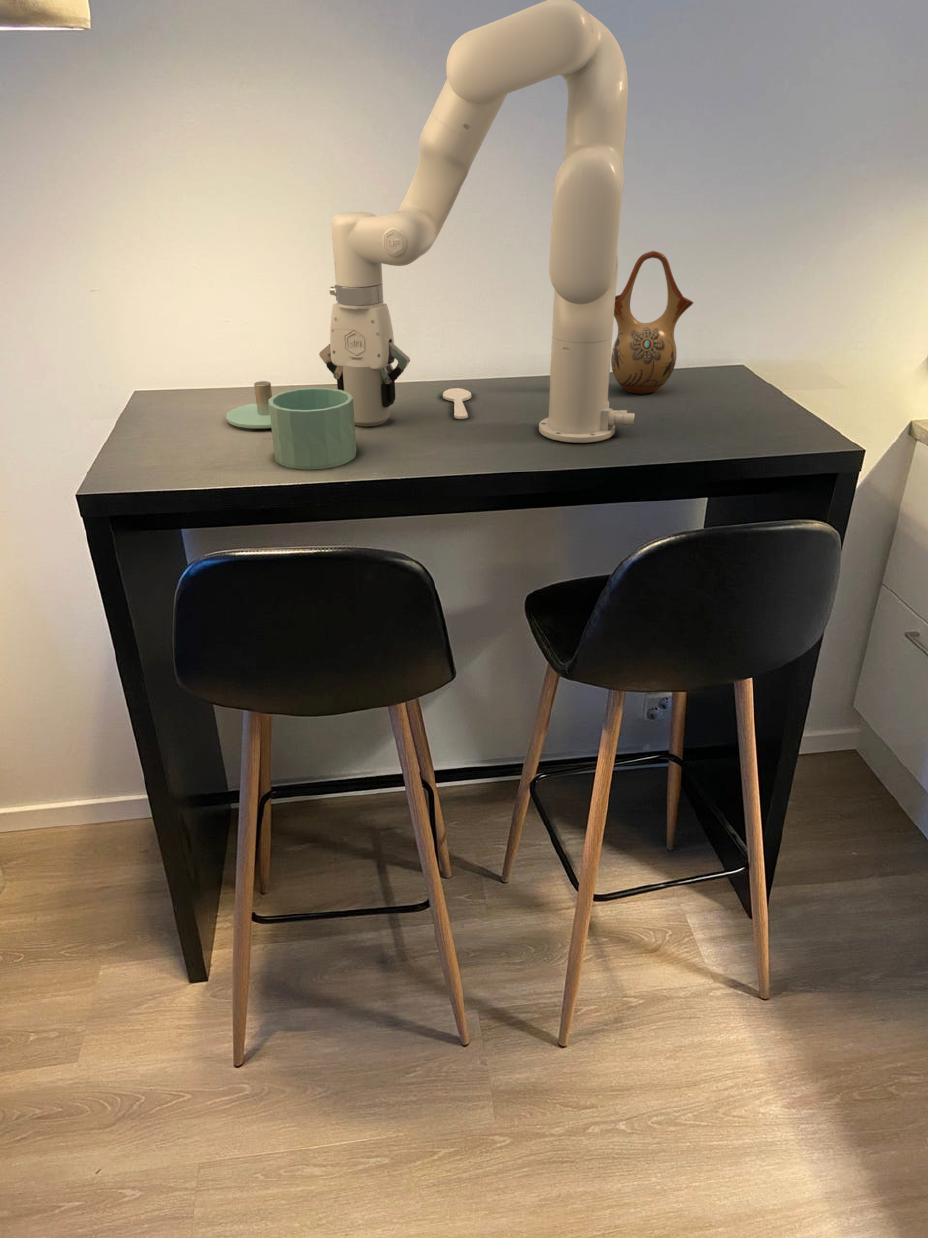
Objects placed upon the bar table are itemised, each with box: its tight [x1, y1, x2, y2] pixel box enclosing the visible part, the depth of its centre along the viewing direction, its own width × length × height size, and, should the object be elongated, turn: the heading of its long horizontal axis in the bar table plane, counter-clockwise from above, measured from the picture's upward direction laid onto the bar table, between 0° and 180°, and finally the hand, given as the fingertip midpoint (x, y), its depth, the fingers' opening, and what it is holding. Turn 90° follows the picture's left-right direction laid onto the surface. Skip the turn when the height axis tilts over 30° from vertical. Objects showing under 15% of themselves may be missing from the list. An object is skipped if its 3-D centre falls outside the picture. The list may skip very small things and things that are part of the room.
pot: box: [268, 387, 358, 471], centre depth 141 cm, size 13×13×9 cm
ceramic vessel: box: [610, 250, 694, 395], centre depth 167 cm, size 16×9×25 cm, turn 93°
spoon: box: [442, 387, 472, 420], centre depth 166 cm, size 5×18×1 cm, turn 3°
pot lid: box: [225, 380, 273, 430], centre depth 158 cm, size 14×14×6 cm
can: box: [342, 356, 391, 427], centre depth 155 cm, size 8×8×12 cm
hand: (367, 402), depth 156 cm, fingers closed on can, 7 cm apart
